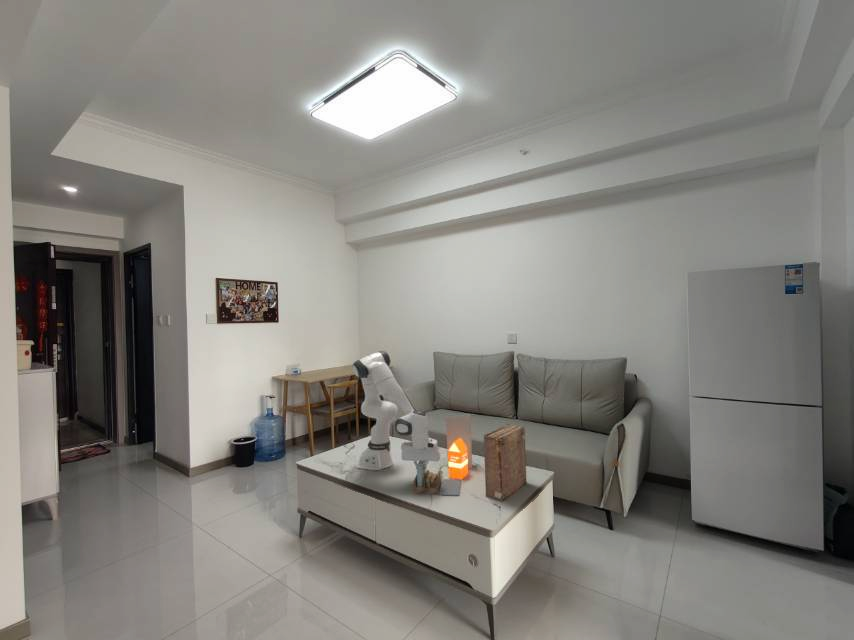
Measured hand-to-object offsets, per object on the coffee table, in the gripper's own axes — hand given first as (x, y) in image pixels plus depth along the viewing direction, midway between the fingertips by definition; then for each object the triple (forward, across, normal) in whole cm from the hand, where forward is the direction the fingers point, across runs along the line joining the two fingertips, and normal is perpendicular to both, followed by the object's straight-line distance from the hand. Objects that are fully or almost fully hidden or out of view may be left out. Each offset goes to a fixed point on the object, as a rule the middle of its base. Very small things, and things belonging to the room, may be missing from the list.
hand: (421, 468), depth 205 cm
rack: (+10, +3, 0) cm, 10 cm away
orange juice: (+10, +18, +16) cm, 26 cm away
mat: (+10, +15, 0) cm, 18 cm away
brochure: (+10, +18, +29) cm, 36 cm away
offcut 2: (+10, +6, 0) cm, 12 cm away
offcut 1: (+10, +4, 0) cm, 11 cm away
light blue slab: (+10, 0, 0) cm, 10 cm away
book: (+10, +44, 0) cm, 45 cm away
